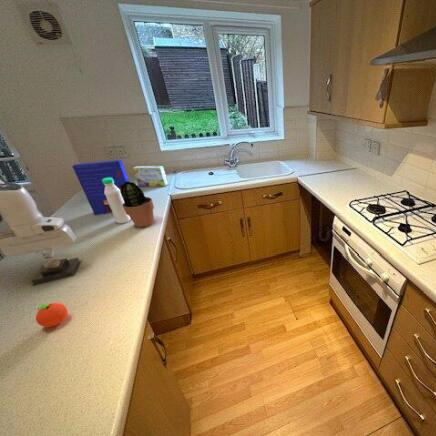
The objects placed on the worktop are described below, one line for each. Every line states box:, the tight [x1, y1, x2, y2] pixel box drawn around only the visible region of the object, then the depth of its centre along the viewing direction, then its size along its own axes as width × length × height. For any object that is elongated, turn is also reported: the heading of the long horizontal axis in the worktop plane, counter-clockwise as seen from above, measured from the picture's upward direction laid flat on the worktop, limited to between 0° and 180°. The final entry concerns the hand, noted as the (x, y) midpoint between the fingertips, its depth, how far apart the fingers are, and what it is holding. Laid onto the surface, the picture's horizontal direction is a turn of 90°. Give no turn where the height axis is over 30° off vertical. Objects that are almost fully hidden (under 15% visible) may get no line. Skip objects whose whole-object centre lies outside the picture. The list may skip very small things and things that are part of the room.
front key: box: [44, 258, 61, 269], centre depth 95 cm, size 4×4×2 cm
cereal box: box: [72, 158, 130, 216], centre depth 142 cm, size 22×6×30 cm, turn 111°
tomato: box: [35, 302, 68, 328], centre depth 74 cm, size 8×7×7 cm
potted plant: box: [121, 181, 155, 228], centre depth 126 cm, size 14×14×25 cm
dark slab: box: [30, 257, 81, 286], centre depth 96 cm, size 12×10×4 cm
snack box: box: [132, 165, 169, 187], centre depth 183 cm, size 21×6×15 cm, turn 88°
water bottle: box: [102, 178, 132, 224], centre depth 130 cm, size 7×7×25 cm
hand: (49, 257), depth 93 cm, fingers closed
